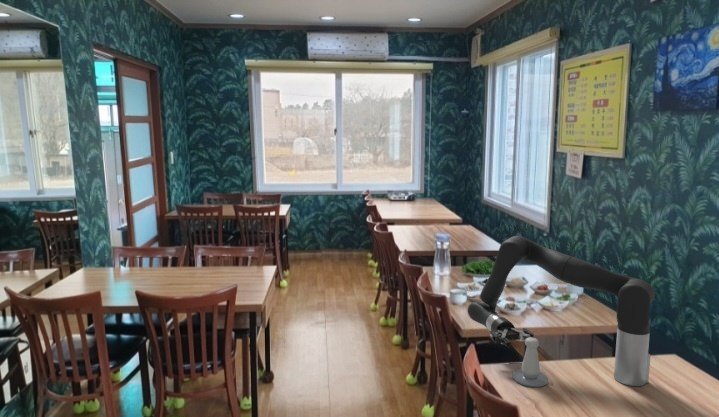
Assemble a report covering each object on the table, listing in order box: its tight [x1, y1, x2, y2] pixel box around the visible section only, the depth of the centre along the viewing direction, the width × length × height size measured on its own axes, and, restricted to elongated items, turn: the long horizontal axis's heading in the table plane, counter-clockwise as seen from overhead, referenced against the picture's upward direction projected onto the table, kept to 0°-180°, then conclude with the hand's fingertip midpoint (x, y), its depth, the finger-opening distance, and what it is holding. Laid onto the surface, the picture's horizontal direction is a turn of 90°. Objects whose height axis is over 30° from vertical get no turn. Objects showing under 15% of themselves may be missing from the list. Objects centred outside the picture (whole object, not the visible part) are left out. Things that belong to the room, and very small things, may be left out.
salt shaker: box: [520, 337, 541, 379], centre depth 164 cm, size 6×6×13 cm
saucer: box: [512, 368, 549, 388], centre depth 164 cm, size 11×11×1 cm
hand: (521, 344), depth 169 cm, fingers open, 8 cm apart
